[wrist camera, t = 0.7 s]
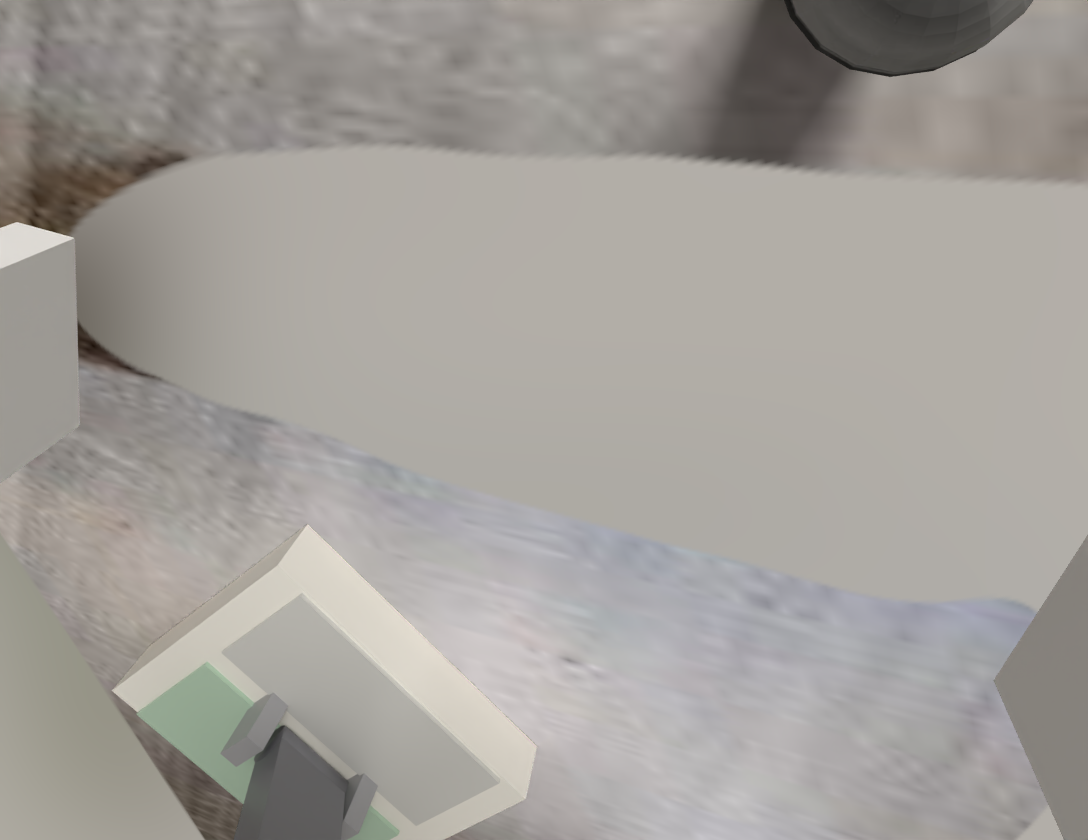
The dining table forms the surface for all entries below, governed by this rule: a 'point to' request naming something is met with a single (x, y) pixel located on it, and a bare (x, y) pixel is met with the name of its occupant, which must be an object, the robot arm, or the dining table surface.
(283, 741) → the toggle lever
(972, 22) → the beverage cup
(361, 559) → the dining table surface
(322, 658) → the switch box
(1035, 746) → the robot arm
